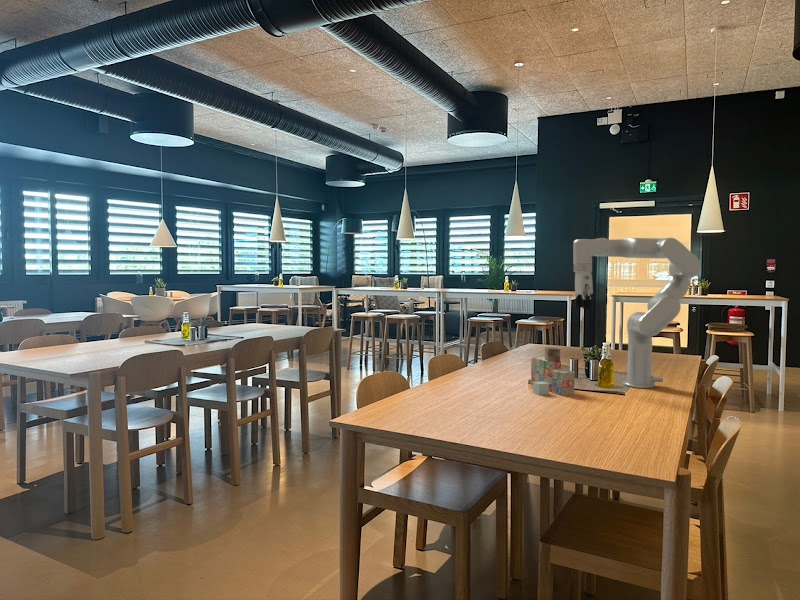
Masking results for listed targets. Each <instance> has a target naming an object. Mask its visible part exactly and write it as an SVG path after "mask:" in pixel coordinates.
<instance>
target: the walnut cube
mask: <svg viewBox="0 0 800 600" xmlns="http://www.w3.org/2000/svg"><path fill="white" fill-rule="evenodd" d="M544 357H545V360H547V361H561V348H559V347H554V346H553V347H551V346H549V347H547V346H546V347H544Z"/></svg>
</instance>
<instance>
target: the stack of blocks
mask: <svg viewBox="0 0 800 600" xmlns="http://www.w3.org/2000/svg"><path fill="white" fill-rule="evenodd" d="M530 361H531V362H530V364H531V366H530V373H531V374H530V377H531V378H530V386H532V387H533V382H540V381H543V382H546V383H549V392H550V393H553V394H556V395H559V396H572V395H575V379H576V378H575V376H576V375H575V374H576V371H572V370H569V369H565V368H561V367H562V366H561V365H562V364H561V360H560V361H547V360H545V356H537V357H536V356H535V357H531V358H530Z"/></svg>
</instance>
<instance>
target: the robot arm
mask: <svg viewBox="0 0 800 600" xmlns="http://www.w3.org/2000/svg"><path fill="white" fill-rule="evenodd" d="M572 247H573V251H572V252H573V253H572V254H573V257H572V258H573V272H574V273H575V274H574V291H575V292H574V293H575V308H582V309H583V310H591V308H592V297H591V296H592V295H593V294H594V289H593V288H594V287H593V286H594V285H593V275H592V272H593V257H614V258H615V257H617V258H626V259H627V258H629V259H632V258H633V259H667V260H668V261H669V262H670V263H669V265H668V271H669V272H668V273H669V278H668V282H667V283H666V284H665V285H664V286H663V287H662V288H660V290H659V291H657V293H656V294H655V295H653V296H652V297H651V298H650V300H648V301H647V310H648V311H647V312H643V311H637V312H636V311H635V312H634V313H632V314H630V316H629V317H628V319H627V322H626V329H627V345H628V346H627V367H626V368H627V369H626V371H627V373H626V374H627V375H626V379H624V380H623V382H622V384H623V386H626V387H630V388H639V389H652V388H655V386H656V384H655V383H656V382H658V383H663V382H664V377H660V376H659V377H658V376H654V375H652V364H653V363H652V361H653V339H652V337H654V336H657V335H658V334H659V333H661V332H662V331H663V330H664V329H666V327H667V326H669V324H671V323H672V321H674V320H675V318H677V316H678V315H679V314H680V311H681V307H682V306H681V302H680V301H681V300H682V299H684V297H685V296H686V294H687V293H688V291H689V290H690V288H689V287H690V279H691V278H694V277H696V276H697V275H699V274H700V273H701V270H702V264H701V261H700V260H699V259H698V258H697V257H696V256H695V254H693V253H692V252H691V251H690V250H689V249H688V248H687V247H686V246H685V245H684V244H683V243H682V242H681V241H680V240H678V239H676V238H674V237H663V238H659V237H658V238H653V237H651V238H649V237H628V238H620V239H608V238H606V237H600V238H594V239H593V238H592V239H588V238H581V239H579V238H578V239H575V240H573V245H572Z"/></svg>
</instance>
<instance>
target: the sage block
mask: <svg viewBox="0 0 800 600" xmlns="http://www.w3.org/2000/svg"><path fill="white" fill-rule="evenodd" d="M532 393H533V394H535V395H537V396H547V395H550V393H549V383H546V382H543V381H540V382H533V386H532Z"/></svg>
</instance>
